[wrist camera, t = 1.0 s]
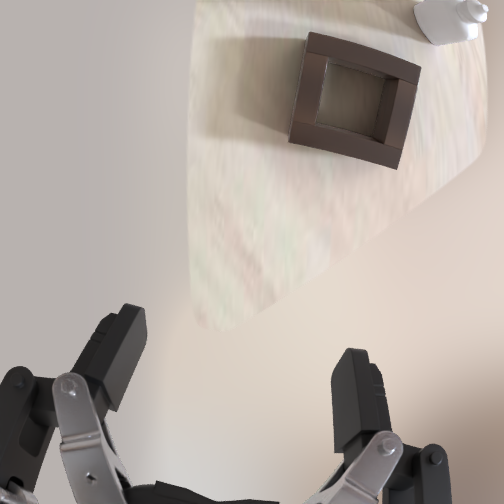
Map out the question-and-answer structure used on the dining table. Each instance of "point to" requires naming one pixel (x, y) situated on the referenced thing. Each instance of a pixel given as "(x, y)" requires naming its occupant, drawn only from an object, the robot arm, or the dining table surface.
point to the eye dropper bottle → (450, 20)
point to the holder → (390, 110)
